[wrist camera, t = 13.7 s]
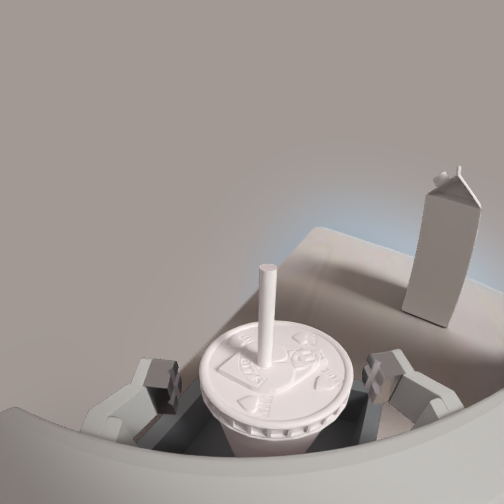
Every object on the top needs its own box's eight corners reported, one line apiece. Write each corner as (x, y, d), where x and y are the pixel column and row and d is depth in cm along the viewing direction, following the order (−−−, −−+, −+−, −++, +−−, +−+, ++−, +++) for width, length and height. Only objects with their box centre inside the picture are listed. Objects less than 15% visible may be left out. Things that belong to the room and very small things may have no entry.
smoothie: (213, 427, 16) (187, 238, 11) (300, 415, 17) (332, 231, 12) (223, 505, 11) (176, 341, 5) (327, 485, 12) (425, 304, 6)
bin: (229, 381, 22) (226, 344, 20) (366, 420, 17) (384, 385, 15) (143, 484, 12) (119, 459, 10) (319, 556, 7) (340, 552, 5)
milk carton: (454, 305, 31) (484, 173, 24) (447, 329, 26) (486, 172, 19) (413, 290, 36) (436, 161, 28) (400, 311, 31) (428, 159, 24)
